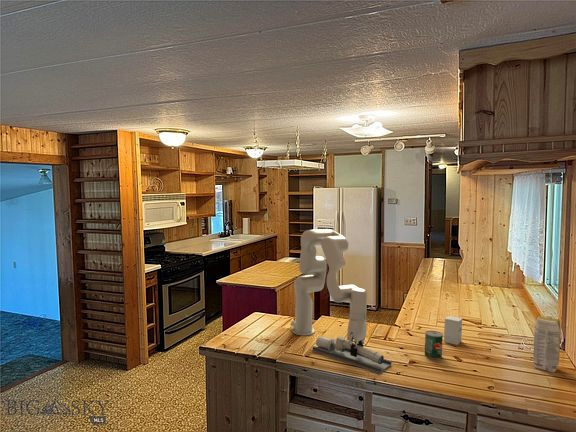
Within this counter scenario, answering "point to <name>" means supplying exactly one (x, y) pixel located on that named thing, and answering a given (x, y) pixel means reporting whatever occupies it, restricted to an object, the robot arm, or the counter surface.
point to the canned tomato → (433, 344)
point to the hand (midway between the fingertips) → (356, 353)
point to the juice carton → (547, 343)
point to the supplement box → (453, 330)
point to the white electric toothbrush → (358, 350)
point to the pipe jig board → (348, 356)
